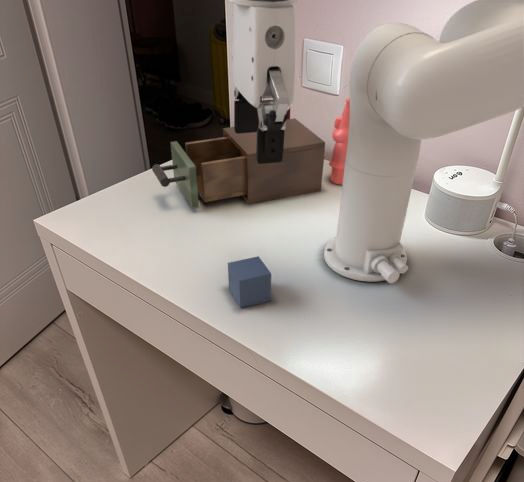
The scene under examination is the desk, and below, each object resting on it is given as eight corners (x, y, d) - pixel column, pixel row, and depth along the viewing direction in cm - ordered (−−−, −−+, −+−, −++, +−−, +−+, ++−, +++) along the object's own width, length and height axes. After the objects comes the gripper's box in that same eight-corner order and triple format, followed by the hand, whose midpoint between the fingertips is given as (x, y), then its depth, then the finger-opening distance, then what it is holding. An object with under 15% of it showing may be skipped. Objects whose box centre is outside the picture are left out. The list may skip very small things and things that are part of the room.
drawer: (167, 212, 91) (162, 171, 86) (151, 184, 99) (145, 145, 94) (264, 195, 96) (264, 155, 92) (241, 169, 104) (241, 131, 99)
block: (270, 300, 75) (271, 273, 72) (240, 308, 74) (239, 280, 71) (258, 282, 78) (258, 256, 75) (228, 289, 77) (227, 262, 74)
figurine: (344, 172, 106) (354, 91, 96) (359, 182, 103) (370, 100, 92) (322, 176, 104) (329, 95, 94) (336, 187, 101) (345, 104, 91)
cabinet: (248, 204, 96) (248, 154, 90) (224, 175, 104) (223, 128, 98) (321, 190, 100) (325, 142, 94) (292, 164, 108) (295, 118, 102)
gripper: (327, -1, 51) (309, 172, 63) (270, -29, 63) (264, 120, 75) (251, 1, 49) (248, 178, 61) (208, -29, 61) (212, 124, 73)
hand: (257, 146), depth 68 cm, fingers open, 9 cm apart
